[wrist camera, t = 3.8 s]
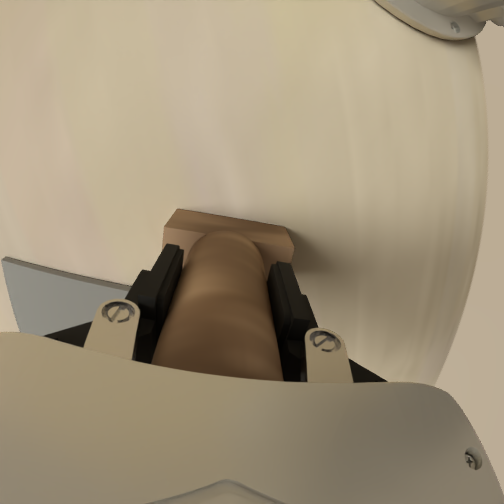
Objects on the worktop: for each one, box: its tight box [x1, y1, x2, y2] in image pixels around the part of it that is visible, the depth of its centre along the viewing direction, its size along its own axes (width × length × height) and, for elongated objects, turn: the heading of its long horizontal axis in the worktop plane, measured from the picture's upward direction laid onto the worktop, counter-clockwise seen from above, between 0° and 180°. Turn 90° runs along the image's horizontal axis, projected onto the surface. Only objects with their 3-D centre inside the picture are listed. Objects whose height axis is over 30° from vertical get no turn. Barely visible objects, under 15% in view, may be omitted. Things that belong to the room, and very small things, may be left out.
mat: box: [1, 257, 132, 336], centre depth 21 cm, size 22×24×1 cm
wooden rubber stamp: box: [151, 209, 295, 381], centre depth 10 cm, size 6×4×13 cm, turn 79°
